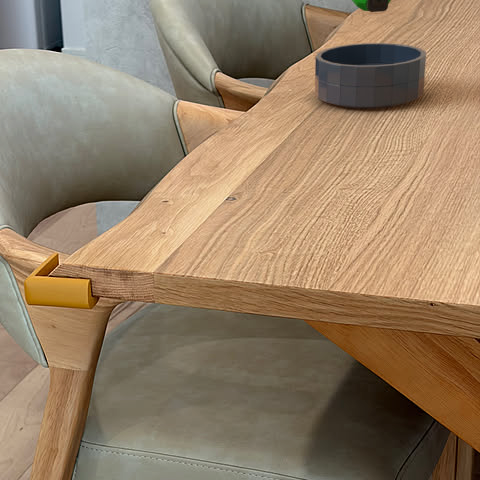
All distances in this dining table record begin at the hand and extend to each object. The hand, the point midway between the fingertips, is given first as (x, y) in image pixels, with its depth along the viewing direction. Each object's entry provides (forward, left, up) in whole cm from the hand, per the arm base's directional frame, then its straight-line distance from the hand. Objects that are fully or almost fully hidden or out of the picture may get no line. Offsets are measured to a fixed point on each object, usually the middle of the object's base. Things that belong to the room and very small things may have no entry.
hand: (372, 6), depth 102 cm
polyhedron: (0, 0, -1) cm, 1 cm away
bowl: (0, 0, -10) cm, 10 cm away
